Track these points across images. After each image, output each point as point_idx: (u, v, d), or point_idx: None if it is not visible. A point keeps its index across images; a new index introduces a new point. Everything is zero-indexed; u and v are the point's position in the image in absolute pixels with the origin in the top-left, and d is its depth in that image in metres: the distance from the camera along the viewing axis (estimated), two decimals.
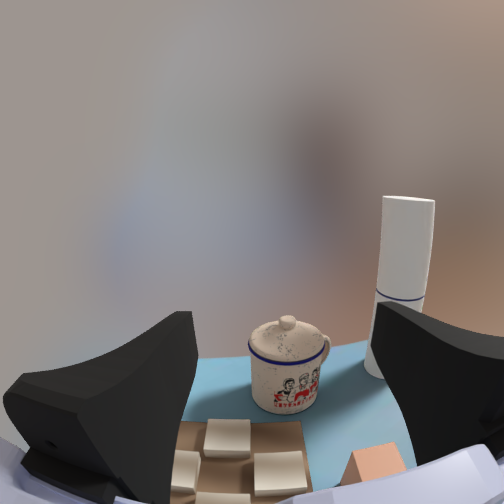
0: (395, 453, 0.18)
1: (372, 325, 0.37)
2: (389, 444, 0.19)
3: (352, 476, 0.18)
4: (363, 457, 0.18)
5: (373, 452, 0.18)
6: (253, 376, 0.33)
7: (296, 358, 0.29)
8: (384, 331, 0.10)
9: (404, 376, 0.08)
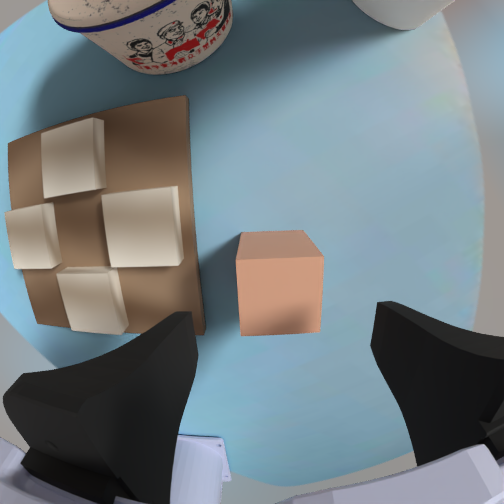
0: (315, 285, 0.13)
1: None
2: (311, 262, 0.13)
3: None
4: (253, 279, 0.13)
5: (275, 271, 0.13)
6: None
7: (124, 12, 0.07)
8: (384, 331, 0.10)
9: (404, 376, 0.08)
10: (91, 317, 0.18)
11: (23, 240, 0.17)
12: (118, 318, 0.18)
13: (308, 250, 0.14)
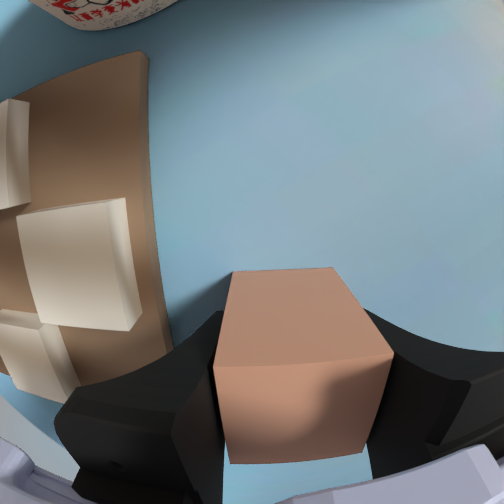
0: (369, 399, 0.06)
1: None
2: (369, 364, 0.06)
3: None
4: (250, 398, 0.06)
5: (296, 384, 0.06)
6: None
7: None
8: None
9: None
10: (33, 379, 0.11)
11: None
12: (64, 386, 0.11)
13: (359, 331, 0.07)
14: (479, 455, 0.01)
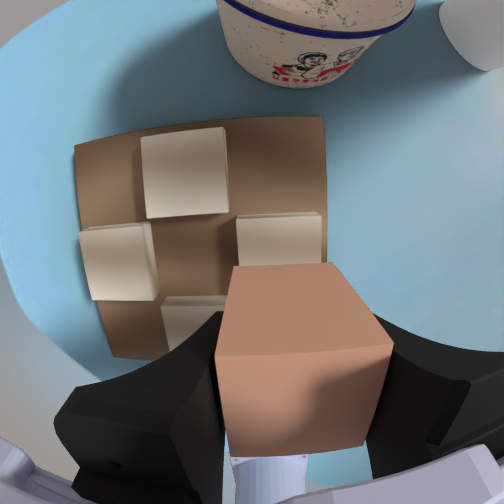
0: (369, 390, 0.06)
1: None
2: (369, 354, 0.06)
3: None
4: (251, 388, 0.06)
5: (297, 375, 0.06)
6: (223, 22, 0.11)
7: (349, 26, 0.07)
8: None
9: None
10: None
11: (109, 267, 0.16)
12: None
13: (359, 322, 0.07)
14: (479, 455, 0.01)
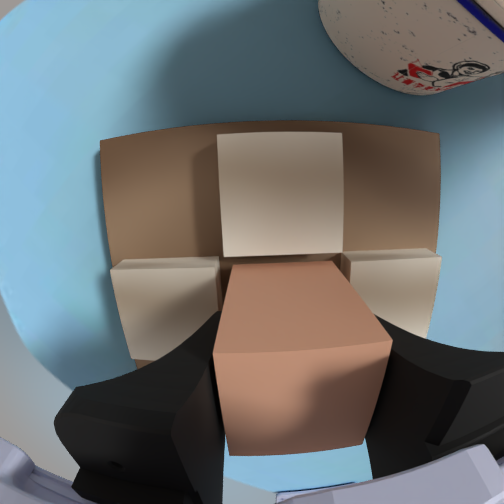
0: (368, 388, 0.06)
1: None
2: (368, 352, 0.06)
3: None
4: (250, 386, 0.06)
5: (296, 372, 0.06)
6: None
7: None
8: None
9: None
10: None
11: (160, 320, 0.12)
12: None
13: (358, 320, 0.07)
14: (479, 455, 0.01)
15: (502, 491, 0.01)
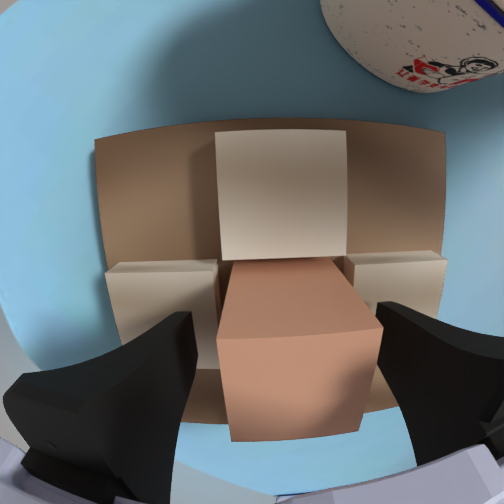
0: (362, 374, 0.07)
1: None
2: (361, 338, 0.06)
3: None
4: (251, 371, 0.07)
5: (293, 357, 0.07)
6: None
7: None
8: (384, 331, 0.10)
9: (404, 376, 0.08)
10: None
11: None
12: None
13: (351, 309, 0.07)
14: (479, 455, 0.01)
15: (502, 491, 0.01)
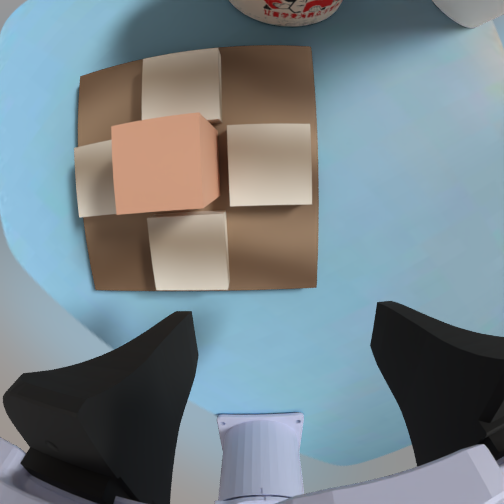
0: (191, 146, 0.11)
1: None
2: (185, 119, 0.11)
3: None
4: (126, 144, 0.11)
5: (147, 132, 0.11)
6: None
7: None
8: (384, 331, 0.10)
9: (404, 376, 0.08)
10: (189, 270, 0.17)
11: (100, 179, 0.16)
12: (227, 269, 0.17)
13: None
14: (479, 455, 0.01)
15: (502, 491, 0.01)
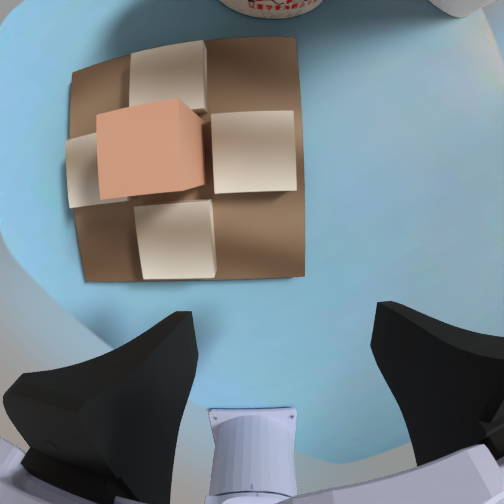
0: (171, 130, 0.11)
1: None
2: (165, 105, 0.11)
3: None
4: (110, 131, 0.11)
5: (130, 119, 0.11)
6: None
7: None
8: (384, 331, 0.10)
9: (404, 376, 0.08)
10: (176, 258, 0.17)
11: (89, 170, 0.16)
12: (212, 257, 0.17)
13: None
14: (479, 455, 0.01)
15: (502, 491, 0.01)
